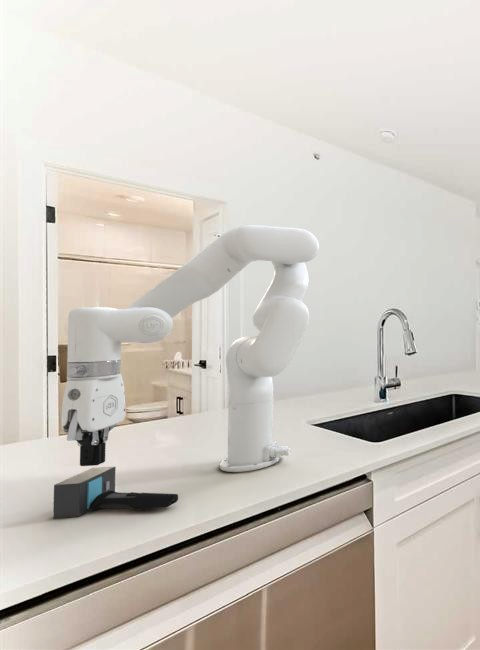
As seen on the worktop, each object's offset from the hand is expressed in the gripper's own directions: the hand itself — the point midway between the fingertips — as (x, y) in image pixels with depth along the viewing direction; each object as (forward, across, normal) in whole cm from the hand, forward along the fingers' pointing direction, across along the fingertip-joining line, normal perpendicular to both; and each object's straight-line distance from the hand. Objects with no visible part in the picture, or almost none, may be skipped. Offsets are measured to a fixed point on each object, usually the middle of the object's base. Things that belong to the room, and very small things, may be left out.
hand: (92, 464), depth 83 cm
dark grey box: (+5, +3, 0) cm, 5 cm away
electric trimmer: (+8, -4, -10) cm, 13 cm away
